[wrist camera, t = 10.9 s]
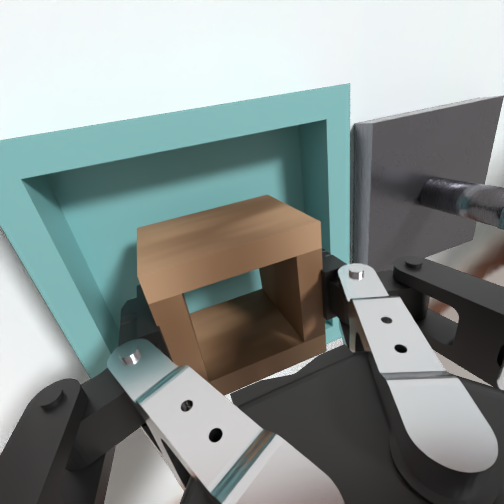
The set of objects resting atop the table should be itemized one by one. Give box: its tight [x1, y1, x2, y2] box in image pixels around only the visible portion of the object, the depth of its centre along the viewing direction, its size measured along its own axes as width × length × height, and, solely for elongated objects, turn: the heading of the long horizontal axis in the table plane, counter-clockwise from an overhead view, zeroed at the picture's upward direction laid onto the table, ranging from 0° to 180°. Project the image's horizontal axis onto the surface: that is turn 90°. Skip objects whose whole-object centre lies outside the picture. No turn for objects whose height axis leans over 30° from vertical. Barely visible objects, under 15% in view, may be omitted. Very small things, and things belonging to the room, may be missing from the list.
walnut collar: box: [137, 194, 326, 396], centre depth 12 cm, size 6×6×4 cm
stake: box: [353, 96, 504, 272], centre depth 17 cm, size 10×10×7 cm
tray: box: [0, 83, 350, 379], centre depth 15 cm, size 14×14×4 cm
